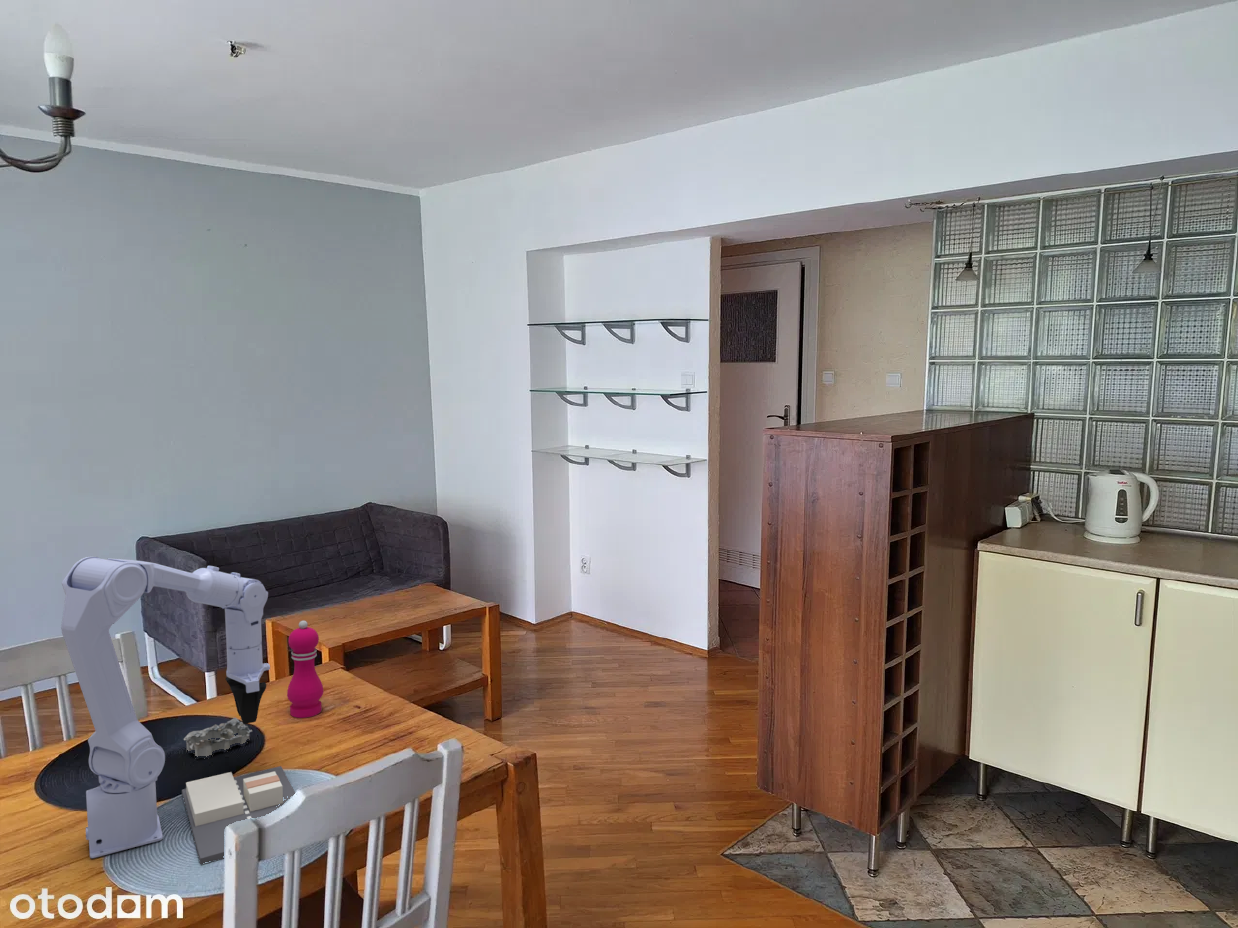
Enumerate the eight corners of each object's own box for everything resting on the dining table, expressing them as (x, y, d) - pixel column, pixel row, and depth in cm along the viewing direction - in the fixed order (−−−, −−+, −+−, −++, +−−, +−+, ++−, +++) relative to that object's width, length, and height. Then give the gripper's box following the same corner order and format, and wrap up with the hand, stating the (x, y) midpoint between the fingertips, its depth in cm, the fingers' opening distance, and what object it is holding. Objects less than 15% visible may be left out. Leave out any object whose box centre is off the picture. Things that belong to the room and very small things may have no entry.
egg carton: (197, 763, 153) (196, 742, 153) (181, 751, 158) (180, 730, 158) (255, 744, 161) (254, 724, 161) (238, 733, 166) (237, 713, 166)
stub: (250, 811, 134) (249, 792, 134) (243, 795, 139) (243, 777, 139) (283, 803, 137) (282, 784, 137) (275, 787, 142) (274, 770, 142)
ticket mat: (200, 864, 121) (199, 845, 121) (182, 795, 141) (181, 778, 141) (313, 832, 130) (313, 814, 130) (281, 771, 150) (280, 755, 150)
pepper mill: (286, 708, 178) (283, 617, 176) (322, 703, 181) (319, 614, 179) (288, 721, 172) (285, 627, 169) (325, 715, 175) (322, 623, 172)
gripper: (276, 651, 143) (279, 727, 144) (260, 630, 155) (263, 700, 156) (232, 659, 139) (235, 737, 140) (219, 636, 151) (222, 708, 152)
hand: (247, 718), depth 148 cm, fingers open, 3 cm apart
